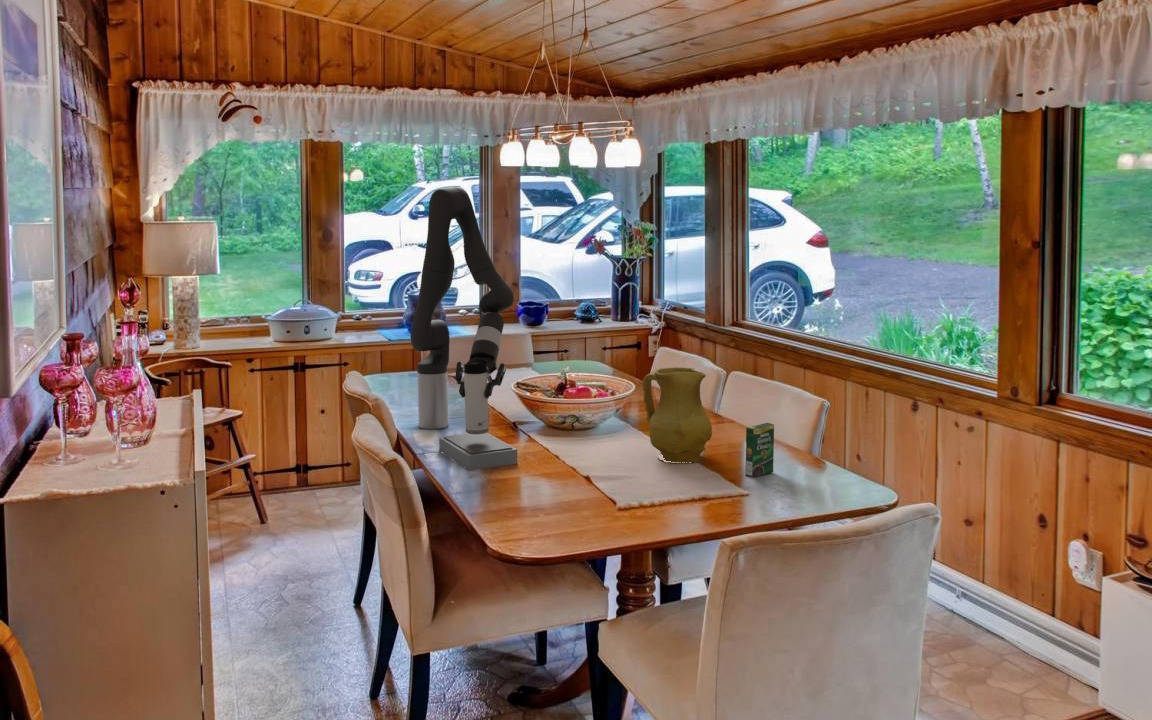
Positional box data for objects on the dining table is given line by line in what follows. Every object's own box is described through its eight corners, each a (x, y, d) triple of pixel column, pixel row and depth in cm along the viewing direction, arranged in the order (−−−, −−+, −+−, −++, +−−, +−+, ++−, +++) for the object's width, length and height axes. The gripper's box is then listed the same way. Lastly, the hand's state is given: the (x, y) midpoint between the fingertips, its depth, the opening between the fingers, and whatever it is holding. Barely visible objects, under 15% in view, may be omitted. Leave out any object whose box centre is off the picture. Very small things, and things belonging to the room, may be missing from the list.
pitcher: (671, 468, 260) (672, 374, 257) (634, 455, 277) (635, 366, 274) (724, 462, 268) (726, 370, 265) (685, 449, 284) (687, 363, 282)
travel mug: (486, 435, 268) (484, 362, 264) (462, 434, 269) (460, 361, 265) (492, 429, 274) (490, 358, 270) (469, 428, 275) (467, 357, 271)
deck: (439, 451, 279) (439, 436, 278) (485, 445, 285) (484, 430, 285) (469, 470, 260) (468, 454, 259) (517, 463, 266) (517, 447, 266)
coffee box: (752, 478, 253) (753, 428, 251) (744, 475, 255) (745, 426, 253) (773, 473, 258) (775, 424, 255) (765, 470, 260) (767, 422, 258)
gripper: (458, 337, 276) (445, 387, 266) (508, 339, 273) (496, 389, 264) (464, 353, 282) (452, 402, 272) (513, 354, 279) (502, 404, 270)
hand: (474, 396), depth 268 cm, fingers closed on travel mug, 6 cm apart
